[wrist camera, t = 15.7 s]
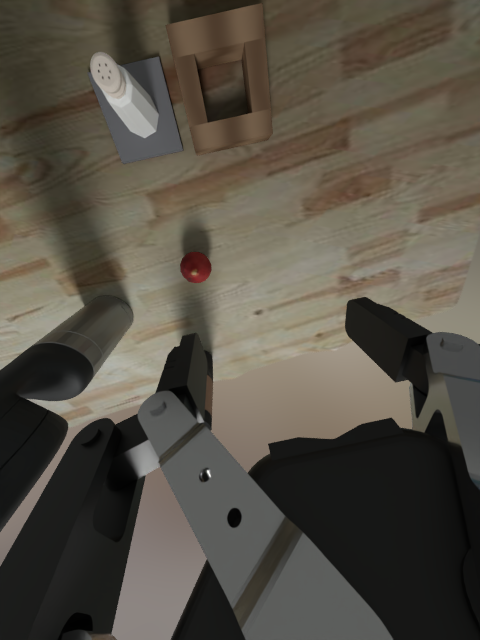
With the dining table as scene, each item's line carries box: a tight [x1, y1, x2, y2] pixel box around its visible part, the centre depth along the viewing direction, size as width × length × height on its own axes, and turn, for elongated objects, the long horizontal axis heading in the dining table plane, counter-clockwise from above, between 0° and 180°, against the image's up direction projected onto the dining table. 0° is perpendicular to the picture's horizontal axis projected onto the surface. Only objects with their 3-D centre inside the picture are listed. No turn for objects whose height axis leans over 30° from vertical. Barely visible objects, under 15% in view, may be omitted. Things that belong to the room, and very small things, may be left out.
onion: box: [180, 252, 211, 283], centre depth 38 cm, size 6×6×8 cm
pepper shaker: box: [90, 52, 159, 138], centre depth 25 cm, size 5×5×11 cm
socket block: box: [166, 3, 273, 156], centre depth 29 cm, size 12×12×4 cm
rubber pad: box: [88, 57, 183, 164], centre depth 30 cm, size 10×10×1 cm
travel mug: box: [203, 350, 213, 431], centre depth 46 cm, size 8×8×20 cm
